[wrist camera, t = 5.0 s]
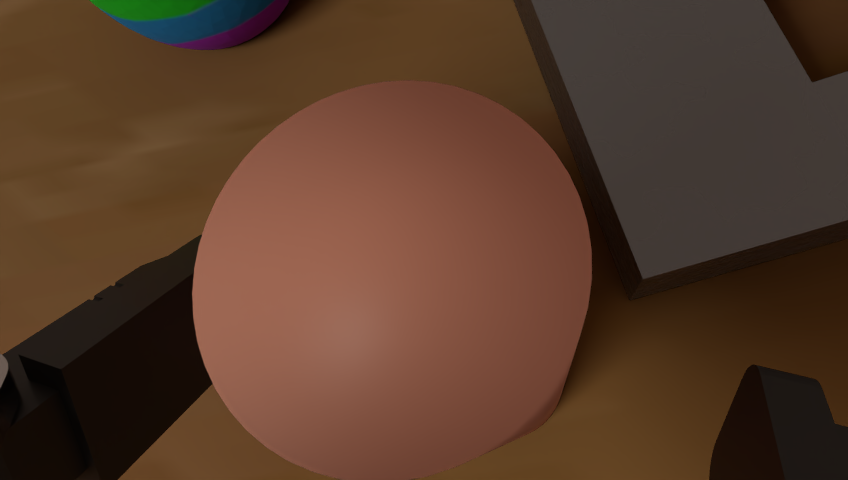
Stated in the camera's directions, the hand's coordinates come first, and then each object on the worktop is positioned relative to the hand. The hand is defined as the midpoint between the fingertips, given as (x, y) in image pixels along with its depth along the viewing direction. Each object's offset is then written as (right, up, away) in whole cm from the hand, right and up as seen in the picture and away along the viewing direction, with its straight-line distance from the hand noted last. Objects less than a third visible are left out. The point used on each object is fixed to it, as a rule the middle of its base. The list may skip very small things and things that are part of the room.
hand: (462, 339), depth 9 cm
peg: (+2, -2, +7) cm, 7 cm away
